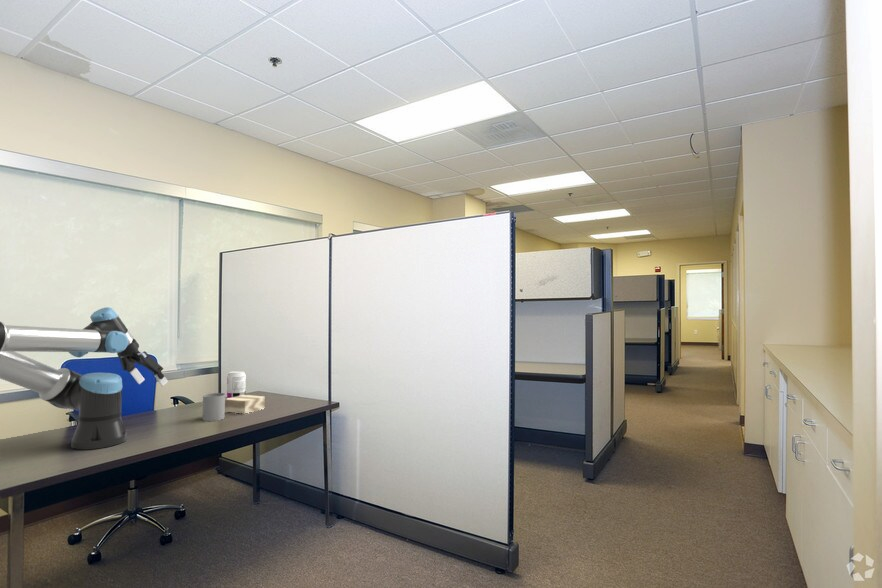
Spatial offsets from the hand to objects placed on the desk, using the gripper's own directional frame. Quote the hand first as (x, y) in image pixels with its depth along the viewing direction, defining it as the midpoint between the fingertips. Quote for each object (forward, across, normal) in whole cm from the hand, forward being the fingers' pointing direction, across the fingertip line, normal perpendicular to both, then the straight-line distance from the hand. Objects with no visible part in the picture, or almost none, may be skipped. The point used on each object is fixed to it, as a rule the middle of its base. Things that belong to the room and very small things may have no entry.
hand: (153, 382), depth 187 cm
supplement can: (+36, -5, -22) cm, 42 cm away
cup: (+19, -21, 0) cm, 29 cm away
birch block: (+29, -21, -14) cm, 39 cm away
